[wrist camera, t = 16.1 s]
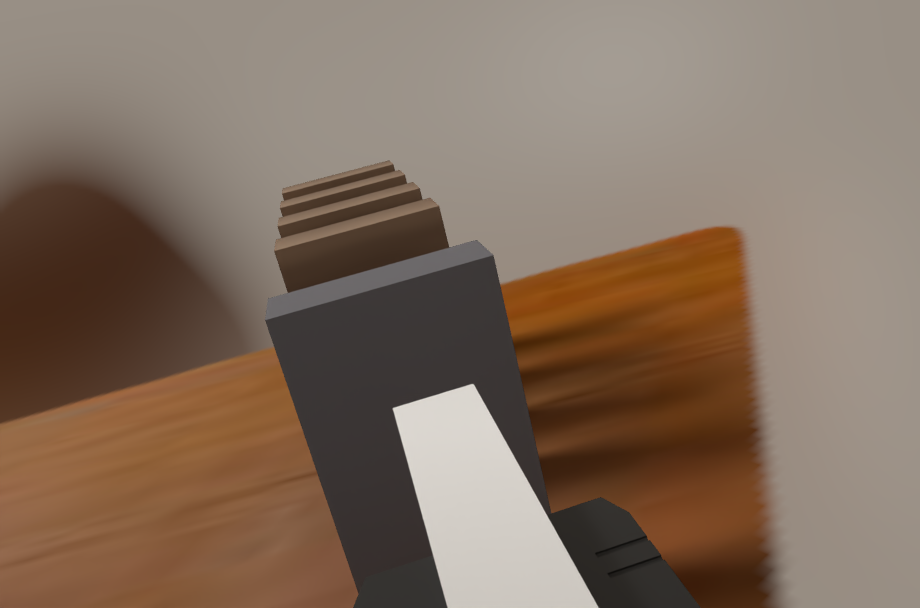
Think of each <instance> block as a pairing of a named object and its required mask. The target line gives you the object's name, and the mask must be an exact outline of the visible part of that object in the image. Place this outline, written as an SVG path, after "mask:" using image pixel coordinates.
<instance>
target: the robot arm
mask: <svg viewBox="0 0 920 608" xmlns="http://www.w3.org/2000/svg"><path fill="white" fill-rule="evenodd" d="M393 411H394V415H395V418H396V422H397V426H398V429H399V433H400V437H401V440H402V444H403V447H404V451H405V455H406V458H407V462H408V466H409V469H410V473H411V476H412V480H413V484H414V487H415V491H416V495H417V498H418V502H419V506H420V509H421V513H422V516H423V520H424V524H425V527H426V531H427V535H428V538H429V542H430V546H431V549H432V553H433V555H432V556H429V557H426V558H423V559H420V560H417V561H414V562H411V563H408V564H405V565H402V566H399V567H396V568H393V569H390V570H387V571H384V572H381V573H378V574H375V575H372V576H369V577H366V578H365V580H364V582H363V585H362V587H361V590H360V592H359V595H358V597H357V600H356V602H355V605H354V607H353V608H700V606H699V605H698V604H697V602H696V601H695V600H694V598H693V597H692V596H691V594H690V593H689V592H688V590H687V589H686V588H685V586H684V585H683V584H682V582H681V581H680V580H679V578H678V577H677V576H676V574H675V573H674V572H673V570H672V569H671V568H670V566H669V565H668V564H667V562H666V561H665V560H663V559H662V557H661V554H660V553H659V552H658V550H657V549H656V548H655V546H654V545H653V544H652V542H651V541H650V540H649V541H648V539H647V536H646V534H645V533H644V532H643V530H642V529H641V528H640V526H639V525H638V524H637V522H636V521H635V520H634V518H633V517H632V516H631V514H630V513H629V512H627V511H625V510H624V509H622V508H620V507H618V506H616V505H614V504H612V503H611V502H609V501H607V500H605V499H603V498H601V497H600V498H597V499H594V500H591V501H588V502H585V503H582V504H579V505H576V506H573V507H570V508H567V509H564V510H561V511H558V512H555V513H552V514H549V515H546V513H545V511H544V509H543V507H542V506H541V504H540V502H539V500H538V498H537V497H536V495H535V493H534V491H533V489H532V488H531V486H530V484H529V482H528V481H527V479H526V477H525V475H524V473H523V472H522V470H521V468H520V466H519V464H518V463H517V461H516V459H515V457H514V456H513V454H512V452H511V450H510V448H509V447H508V445H507V443H506V441H505V439H504V438H503V436H502V434H501V432H500V430H499V429H498V427H497V425H496V423H495V422H494V420H493V418H492V416H491V414H490V413H489V411H488V409H487V407H486V405H485V404H484V402H483V400H482V398H481V396H480V395H479V393H478V391H477V389H476V388H475V386H474V384H470V385H467V386H464V387H461V388H457V389H454V390H451V391H447V392H444V393H441V394H438V395H434V396H431V397H428V398H424V399H421V400H418V401H415V402H411V403H408V404H405V405H401V406H398V407H395V408H393Z"/></svg>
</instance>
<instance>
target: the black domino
mask: <svg viewBox="0 0 920 608" xmlns="http://www.w3.org/2000/svg"><path fill="white" fill-rule="evenodd" d="M265 321H266V324H267V327H268V330H269V333H270V335H271V338H272V341H273V344H274V347H275V350H276V353H277V356H278V359H279V362H280V365H281V368H282V371H283V374H284V377H285V380H286V382H287V385H288V388H289V391H290V394H291V397H292V400H293V403H294V406H295V409H296V412H297V415H298V418H299V420H300V423H301V426H302V429H303V432H304V435H305V438H306V441H307V444H308V447H309V450H310V453H311V456H312V459H313V461H314V464H315V467H316V470H317V473H318V476H319V479H320V482H321V485H322V488H323V491H324V494H325V497H326V499H327V502H328V505H329V508H330V511H331V514H332V517H333V520H334V523H335V526H336V529H337V532H338V535H339V538H340V540H341V543H342V546H343V549H344V552H345V555H346V558H347V561H348V564H349V567H350V570H351V573H352V576H353V578H354V581H355V584H356V587H357V590H358V593H359V592H360V590H361V587H362V585H363V582H364V580H365V578H366V577H369V576H372V575H375V574H378V573H381V572H384V571H387V570H390V569H393V568H396V567H399V566H402V565H405V564H408V563H411V562H414V561H417V560H420V559H423V558H426V557H429V556H432V555H433V553H432V549H431V546H430V542H429V538H428V535H427V531H426V527H425V524H424V520H423V516H422V513H421V509H420V506H419V502H418V498H417V495H416V491H415V487H414V484H413V480H412V476H411V473H410V469H409V466H408V462H407V458H406V455H405V451H404V447H403V444H402V440H401V437H400V433H399V429H398V426H397V422H396V418H395V415H394V411H393V408H395V407H398V406H401V405H405V404H408V403H411V402H415V401H418V400H421V399H424V398H428V397H431V396H434V395H438V394H441V393H444V392H447V391H451V390H454V389H457V388H461V387H464V386H467V385H470V384H474V386H475V388H476V389H477V391H478V393H479V395H480V396H481V398H482V400H483V402H484V404H485V405H486V407H487V409H488V411H489V413H490V414H491V416H492V418H493V420H494V422H495V423H496V425H497V427H498V429H499V430H500V432H501V434H502V436H503V438H504V439H505V441H506V443H507V445H508V447H509V448H510V450H511V452H512V454H513V456H514V457H515V459H516V461H517V463H518V464H519V466H520V468H521V470H522V472H523V473H524V475H525V477H526V479H527V481H528V482H529V484H530V486H531V488H532V489H533V491H534V493H535V495H536V497H537V498H538V500H539V502H540V504H541V506H542V507H543V509H544V511H545V513H546V515H549V514H551V510H550V506H549V501H548V497H547V492H546V488H545V483H544V479H543V474H542V470H541V465H540V461H539V457H538V452H537V448H536V443H535V439H534V434H533V430H532V425H531V421H530V416H529V412H528V407H527V403H526V399H525V394H524V390H523V385H522V381H521V376H520V372H519V367H518V363H517V358H516V354H515V349H514V345H513V341H512V336H511V332H510V327H509V323H508V318H507V314H506V309H505V305H504V300H503V296H502V292H501V287H500V283H499V278H498V274H497V269H496V265H495V260H494V257H493V254H491V253H490V252H489V251H488V250H487V249H486V248H485V247H484V246H483V245H482V244H481V243H480V242H478V241H477V240H475V241H471V242H468V243H464V244H460V245H457V246H453V247H450V248H446V249H443V250H439V251H436V252H432V253H428V254H425V255H421V256H418V257H414V258H411V259H407V260H404V261H400V262H396V263H393V264H389V265H386V266H382V267H379V268H375V269H372V270H368V271H364V272H361V273H357V274H354V275H350V276H347V277H343V278H340V279H336V280H333V281H329V282H325V283H322V284H318V285H315V286H311V287H308V288H304V289H301V290H297V291H293V292H290V293H287V294H283V295H279V296H276V297H272V298H269V299H268V303H267V310H266V318H265Z"/></svg>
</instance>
